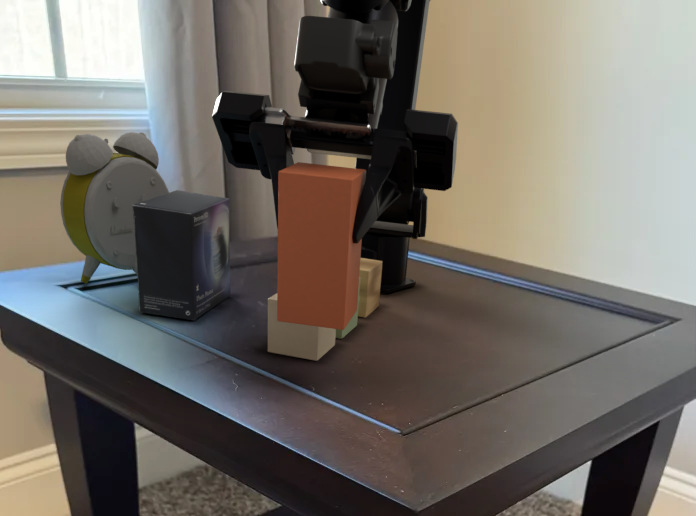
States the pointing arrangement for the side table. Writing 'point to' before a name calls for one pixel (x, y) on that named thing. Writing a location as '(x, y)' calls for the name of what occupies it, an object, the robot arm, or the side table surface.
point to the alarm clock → (107, 197)
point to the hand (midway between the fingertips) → (316, 235)
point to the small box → (182, 253)
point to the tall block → (318, 244)
